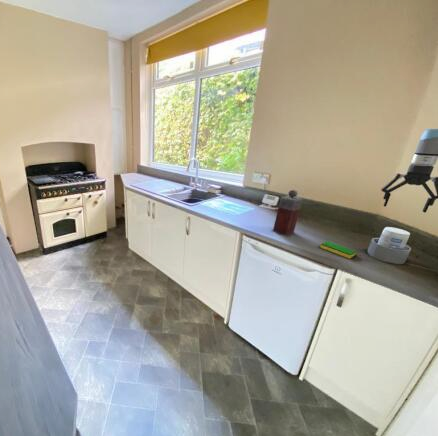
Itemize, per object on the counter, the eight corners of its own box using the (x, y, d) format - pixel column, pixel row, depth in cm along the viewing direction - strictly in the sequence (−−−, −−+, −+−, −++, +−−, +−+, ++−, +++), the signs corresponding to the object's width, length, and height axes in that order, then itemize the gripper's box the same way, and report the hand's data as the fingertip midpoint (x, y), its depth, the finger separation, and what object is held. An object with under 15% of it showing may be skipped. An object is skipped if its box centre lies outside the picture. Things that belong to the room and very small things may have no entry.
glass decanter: (295, 232, 152) (307, 190, 141) (286, 236, 146) (297, 192, 135) (281, 227, 158) (291, 187, 148) (272, 231, 153) (282, 189, 142)
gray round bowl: (402, 255, 125) (408, 243, 122) (407, 267, 114) (413, 253, 111) (366, 247, 133) (371, 235, 131) (367, 257, 123) (372, 244, 120)
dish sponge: (325, 244, 135) (327, 240, 135) (355, 255, 125) (356, 251, 124) (319, 247, 132) (321, 243, 131) (349, 258, 121) (351, 254, 120)
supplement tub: (385, 260, 119) (397, 234, 114) (368, 251, 128) (378, 226, 122) (403, 260, 119) (416, 234, 114) (385, 251, 128) (396, 226, 123)
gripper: (385, 162, 112) (370, 205, 120) (467, 168, 97) (444, 216, 105) (384, 161, 118) (369, 202, 125) (462, 166, 103) (440, 212, 110)
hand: (403, 208), depth 115 cm, fingers open, 13 cm apart
